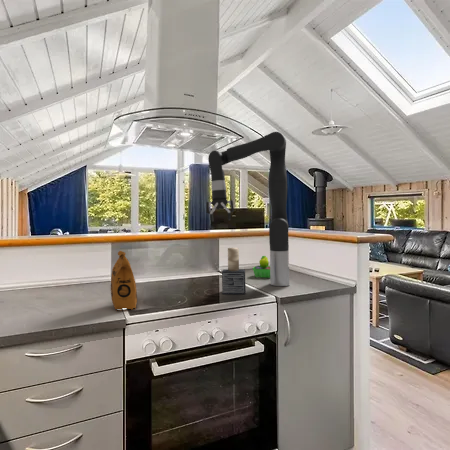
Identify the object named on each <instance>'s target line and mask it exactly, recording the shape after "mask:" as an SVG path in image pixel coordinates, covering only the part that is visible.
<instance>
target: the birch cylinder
mask: <svg viewBox="0 0 450 450" xmlns="http://www.w3.org/2000/svg"><path fill="white" fill-rule="evenodd" d="M239 252H240V249H239V247H228V248H227V269H228V271H239V269H240V258H239V257H240V255H239V254H240V253H239Z"/></svg>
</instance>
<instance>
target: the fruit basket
mask: <svg viewBox="0 0 450 450" xmlns="http://www.w3.org/2000/svg"><path fill="white" fill-rule="evenodd" d="M252 270H253V274H254V277H255V278H269V279H270V260H269V259H268V257H267V256H266V255H262V256H261V258H260V259H259V265H256V266H254V267H252Z"/></svg>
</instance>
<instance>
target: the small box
mask: <svg viewBox="0 0 450 450" xmlns="http://www.w3.org/2000/svg"><path fill="white" fill-rule="evenodd" d="M221 278H222V279H221V282H222V283H221V285H222V286H221V291H222V292H221V295H246V290H247V289H246V286H247V285H246V269H243V268H242V269H241V268H239V271H228V268H227V269H222V271H221Z"/></svg>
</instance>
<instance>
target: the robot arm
mask: <svg viewBox="0 0 450 450" xmlns="http://www.w3.org/2000/svg"><path fill="white" fill-rule="evenodd" d="M286 149H287V140H286V137H285V135H284V134H283V133H281V132H279V131H273V132H271V133H268V134H266V135H264V136H262V137H260V138H258V139H255V140H252V141H248V142H246V143H242V144H238V145H235V146H231V147H228V148H227V149H226V150H224V151H222V152H221V151H218V150H212V151H211V152H209V154H208V159H207V160H208V166H209V170H210V174H211V175H210V176H211V187H210V188H211V199H212V200H211V201H206V203H205V204H206V205H205V207H206V213H207V214H209V218H210V219H209V220H210V221H211V222H212V223H213V222H214V212H215V211H216V210H217V211H218V210H225V211H227V220H228V221H231V218H232V217H231V216H232V215H231V214H232V213H233V212H234V211H235V209H234V208H235V207H234V202H233V200H232V199H231V200H228V199H227V198H228V197H227V185H226V177H225V171H224V169H223V166H224V165H227V164H230V163H231V162H232V163H233V162H235V161H239V160H242V159H246V158H248V157H250V156H253V155H255V154H257V153H261V152H266V151H269V157H270V158H269V159H270V165H269V173H268V184H267V185H268V194H269V201H270V205H271V206H270V207H271V220H270V221H271V222H270V223H269V227H268V228H269V229H268V234H269V236H268V237H269V239H268V240H269V242H268V243H269V266H270V278H269V279H270V280H269V284H270V285H271V286H274V287H287V286H290V265H289V264H290V263H289V262H290V261H289V260H290V259H289V258H290V255H289V253H290V252H289V227H290V226H289V222H288V221H289V220H288V214H287V201H288V177H287V175H288V174H287V167H286ZM228 204H229V205H230V208H231V209H229V208H228V207H227V205H228ZM211 205H212V206H213V207H212V209H211V210H210V207H211Z"/></svg>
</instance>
